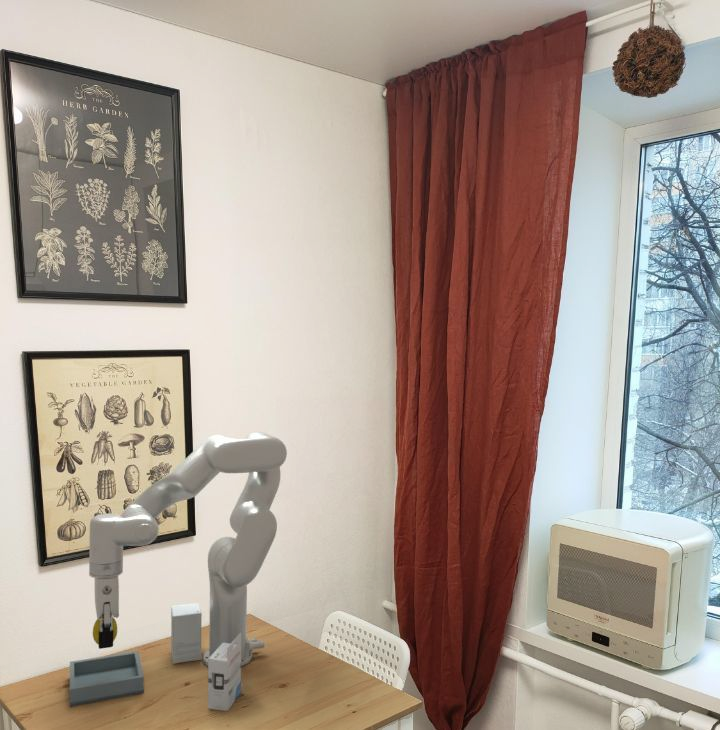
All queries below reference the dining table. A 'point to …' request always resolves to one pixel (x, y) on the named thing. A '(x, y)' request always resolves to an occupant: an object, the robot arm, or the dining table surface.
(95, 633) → the lemon
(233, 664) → the ink box
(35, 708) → the dining table surface
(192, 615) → the supplement box
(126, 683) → the walled box
